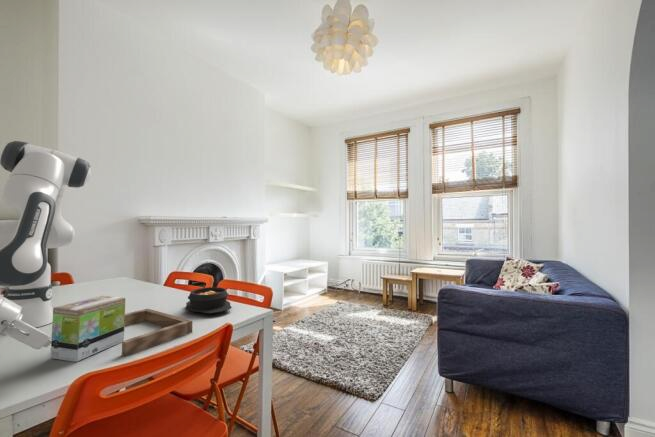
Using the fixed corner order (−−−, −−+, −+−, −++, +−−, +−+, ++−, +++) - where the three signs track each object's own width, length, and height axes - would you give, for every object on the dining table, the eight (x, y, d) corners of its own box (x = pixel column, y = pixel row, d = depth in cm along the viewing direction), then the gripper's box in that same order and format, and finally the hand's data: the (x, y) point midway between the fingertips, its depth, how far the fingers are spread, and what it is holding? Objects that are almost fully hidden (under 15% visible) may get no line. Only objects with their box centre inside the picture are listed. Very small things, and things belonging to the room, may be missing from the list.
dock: (125, 356, 86) (125, 342, 86) (80, 336, 100) (81, 324, 100) (192, 332, 105) (192, 320, 105) (147, 318, 119) (147, 308, 119)
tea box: (78, 363, 82) (79, 309, 82) (49, 359, 84) (50, 307, 84) (125, 341, 96) (126, 296, 97) (100, 338, 99) (101, 294, 99)
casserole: (241, 311, 130) (242, 292, 130) (199, 321, 117) (200, 300, 117) (215, 300, 147) (215, 283, 147) (175, 307, 134) (176, 289, 134)
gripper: (24, 314, 70) (74, 341, 78) (-4, 301, 80) (43, 326, 88) (-4, 339, 66) (52, 364, 74) (-29, 322, 76) (22, 346, 84)
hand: (47, 343), depth 82 cm, fingers closed
